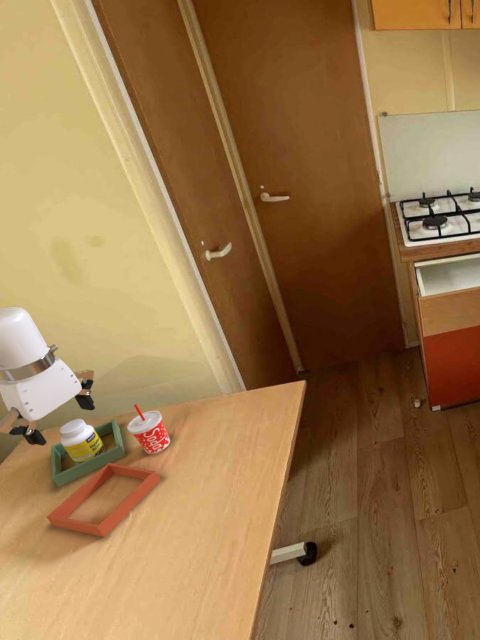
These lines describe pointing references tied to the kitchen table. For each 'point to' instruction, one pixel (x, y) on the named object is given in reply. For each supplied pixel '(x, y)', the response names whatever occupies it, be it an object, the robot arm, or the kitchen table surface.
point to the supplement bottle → (81, 441)
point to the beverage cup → (149, 431)
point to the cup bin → (93, 484)
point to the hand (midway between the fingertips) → (65, 425)
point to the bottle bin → (92, 463)
